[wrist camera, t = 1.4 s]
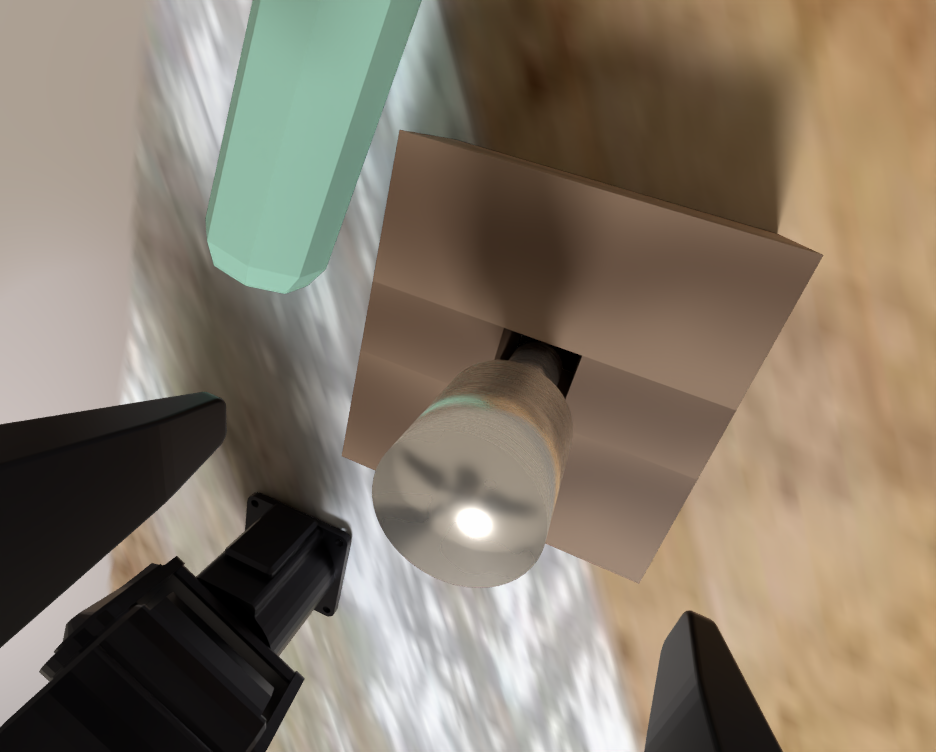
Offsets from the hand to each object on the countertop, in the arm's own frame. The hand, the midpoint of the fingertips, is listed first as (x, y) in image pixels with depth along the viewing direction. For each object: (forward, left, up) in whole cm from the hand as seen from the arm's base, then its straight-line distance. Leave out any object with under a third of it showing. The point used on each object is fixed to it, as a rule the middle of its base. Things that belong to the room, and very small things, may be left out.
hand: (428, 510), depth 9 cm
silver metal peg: (-1, 0, -9) cm, 9 cm away
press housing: (-1, 0, -13) cm, 13 cm away
